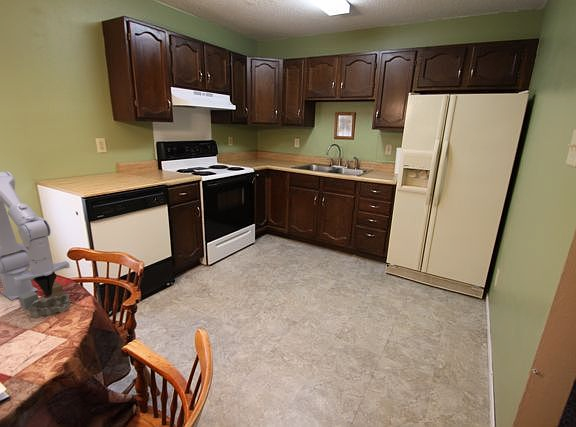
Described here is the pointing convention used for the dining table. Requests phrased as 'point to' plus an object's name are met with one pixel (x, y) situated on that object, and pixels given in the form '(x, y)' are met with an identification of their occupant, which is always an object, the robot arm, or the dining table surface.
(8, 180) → the robot arm
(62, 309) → the grey piece
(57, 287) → the walnut block
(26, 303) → the slate-grey block
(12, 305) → the dining table surface
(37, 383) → the dining table surface
